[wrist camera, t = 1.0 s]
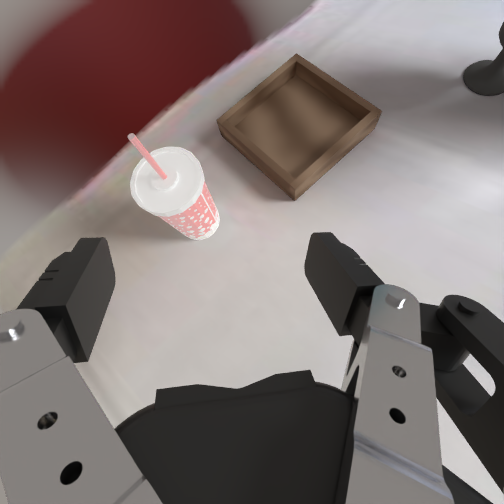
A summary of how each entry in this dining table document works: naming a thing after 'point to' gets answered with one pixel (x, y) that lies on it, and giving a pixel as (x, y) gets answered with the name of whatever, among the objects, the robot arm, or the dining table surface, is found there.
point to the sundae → (487, 73)
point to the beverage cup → (174, 190)
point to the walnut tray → (298, 125)
